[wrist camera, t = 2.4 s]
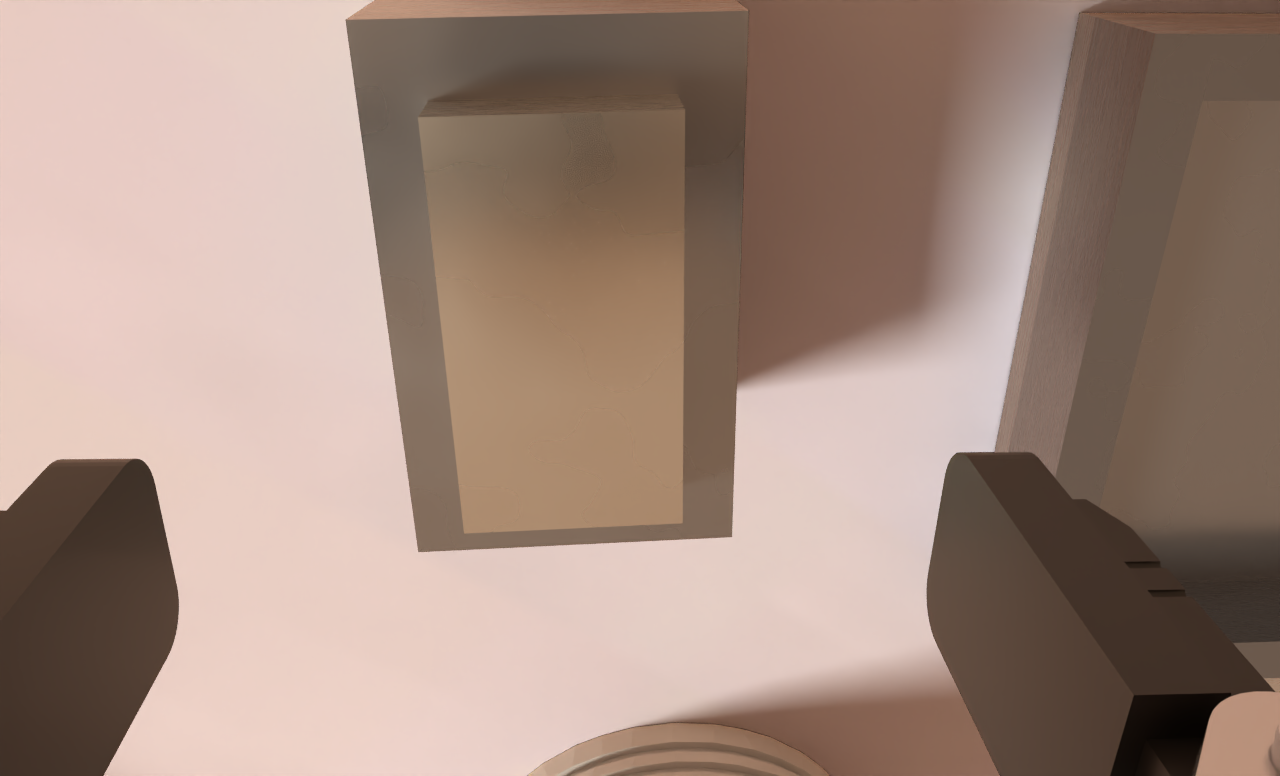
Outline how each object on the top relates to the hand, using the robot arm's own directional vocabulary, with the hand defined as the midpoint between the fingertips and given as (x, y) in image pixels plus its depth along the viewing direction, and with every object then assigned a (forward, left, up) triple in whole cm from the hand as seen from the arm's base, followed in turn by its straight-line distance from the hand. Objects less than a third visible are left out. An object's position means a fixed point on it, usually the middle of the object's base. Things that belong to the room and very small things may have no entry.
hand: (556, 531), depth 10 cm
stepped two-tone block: (0, 0, -10) cm, 10 cm away
